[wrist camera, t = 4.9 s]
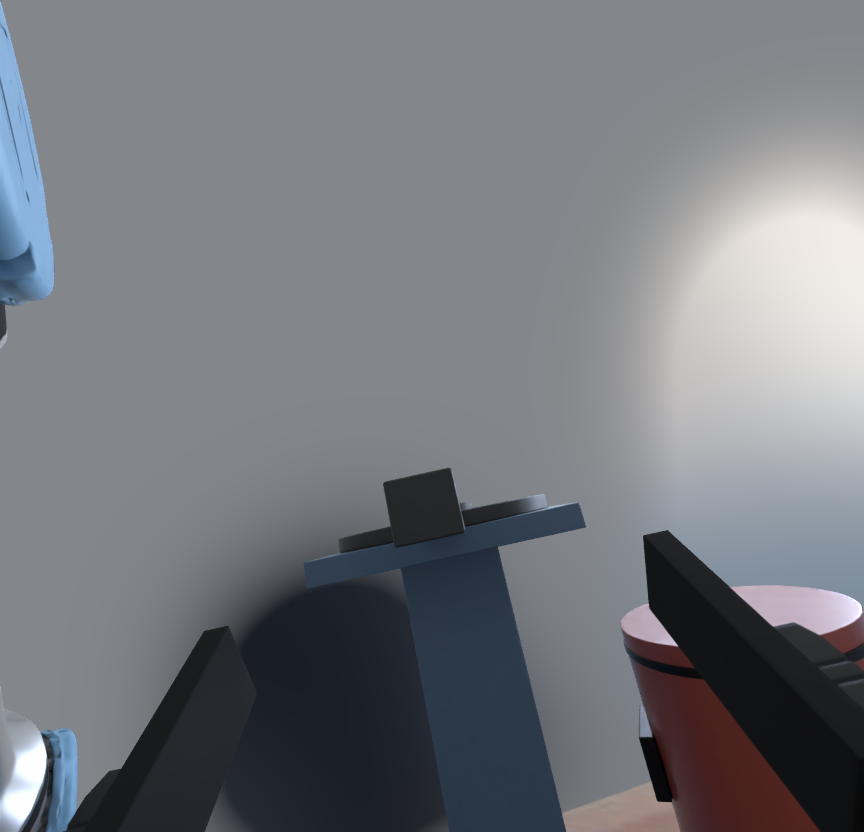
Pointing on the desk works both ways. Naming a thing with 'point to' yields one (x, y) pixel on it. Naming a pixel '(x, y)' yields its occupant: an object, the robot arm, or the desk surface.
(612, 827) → the desk surface
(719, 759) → the red banded canister
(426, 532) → the lid
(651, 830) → the desk surface
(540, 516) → the stand
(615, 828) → the desk surface
